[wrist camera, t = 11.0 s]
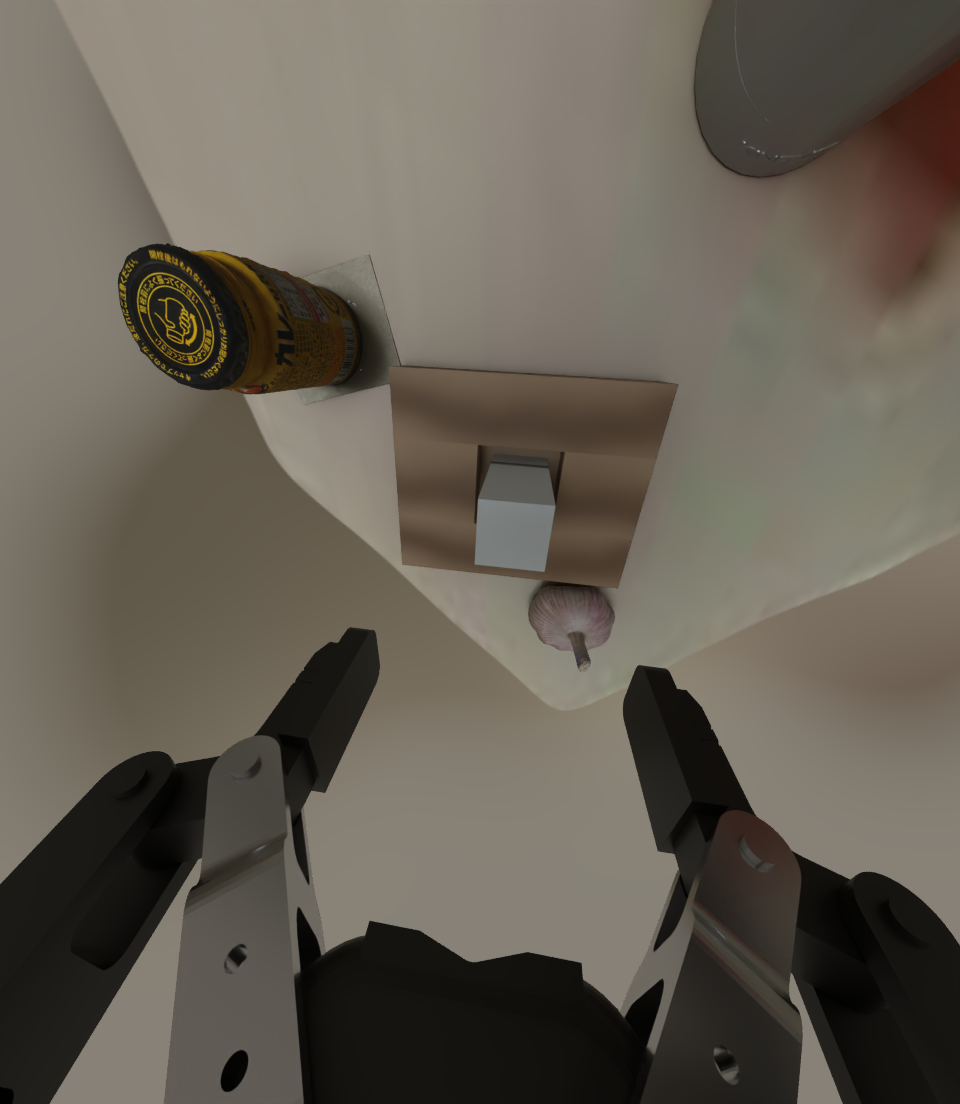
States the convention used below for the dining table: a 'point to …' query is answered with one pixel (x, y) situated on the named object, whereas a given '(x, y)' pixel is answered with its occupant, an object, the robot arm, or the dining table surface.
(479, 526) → the peg
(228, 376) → the condiment
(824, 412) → the dining table surface
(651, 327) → the dining table surface
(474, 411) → the board
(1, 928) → the robot arm
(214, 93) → the dining table surface
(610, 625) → the garlic bulb
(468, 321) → the dining table surface
